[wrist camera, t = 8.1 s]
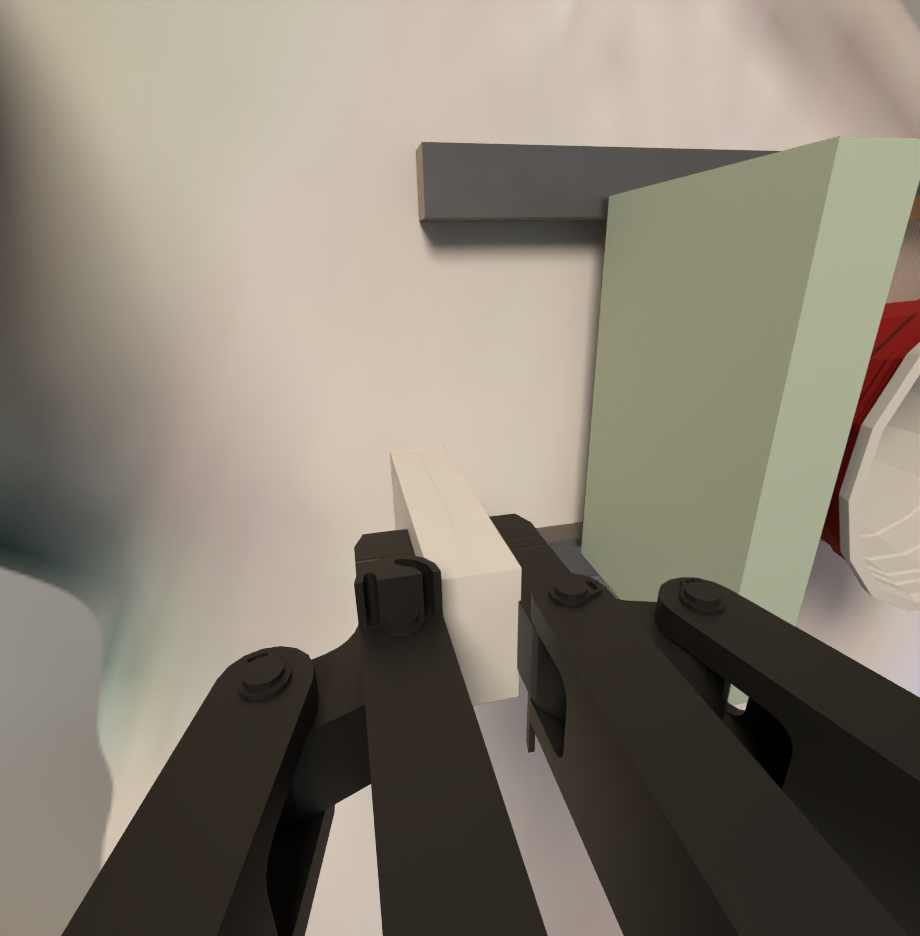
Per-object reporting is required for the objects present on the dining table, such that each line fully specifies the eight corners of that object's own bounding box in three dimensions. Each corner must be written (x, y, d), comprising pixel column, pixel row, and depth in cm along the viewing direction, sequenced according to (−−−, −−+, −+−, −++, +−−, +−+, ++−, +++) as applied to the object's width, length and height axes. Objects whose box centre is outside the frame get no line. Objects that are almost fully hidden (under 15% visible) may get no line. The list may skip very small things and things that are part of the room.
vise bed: (435, 581, 27) (498, 785, 16) (416, 151, 19) (507, 15, 9) (834, 524, 31) (1080, 652, 21) (937, 162, 24) (1392, 83, 14)
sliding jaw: (580, 553, 26) (713, 709, 17) (609, 196, 20) (839, 136, 11) (634, 545, 26) (791, 692, 17) (678, 196, 20) (952, 140, 11)
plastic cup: (660, 232, 22) (1028, 203, 11) (823, 292, 26) (1203, 313, 15) (584, 469, 25) (816, 621, 14) (740, 489, 29) (1009, 618, 18)
